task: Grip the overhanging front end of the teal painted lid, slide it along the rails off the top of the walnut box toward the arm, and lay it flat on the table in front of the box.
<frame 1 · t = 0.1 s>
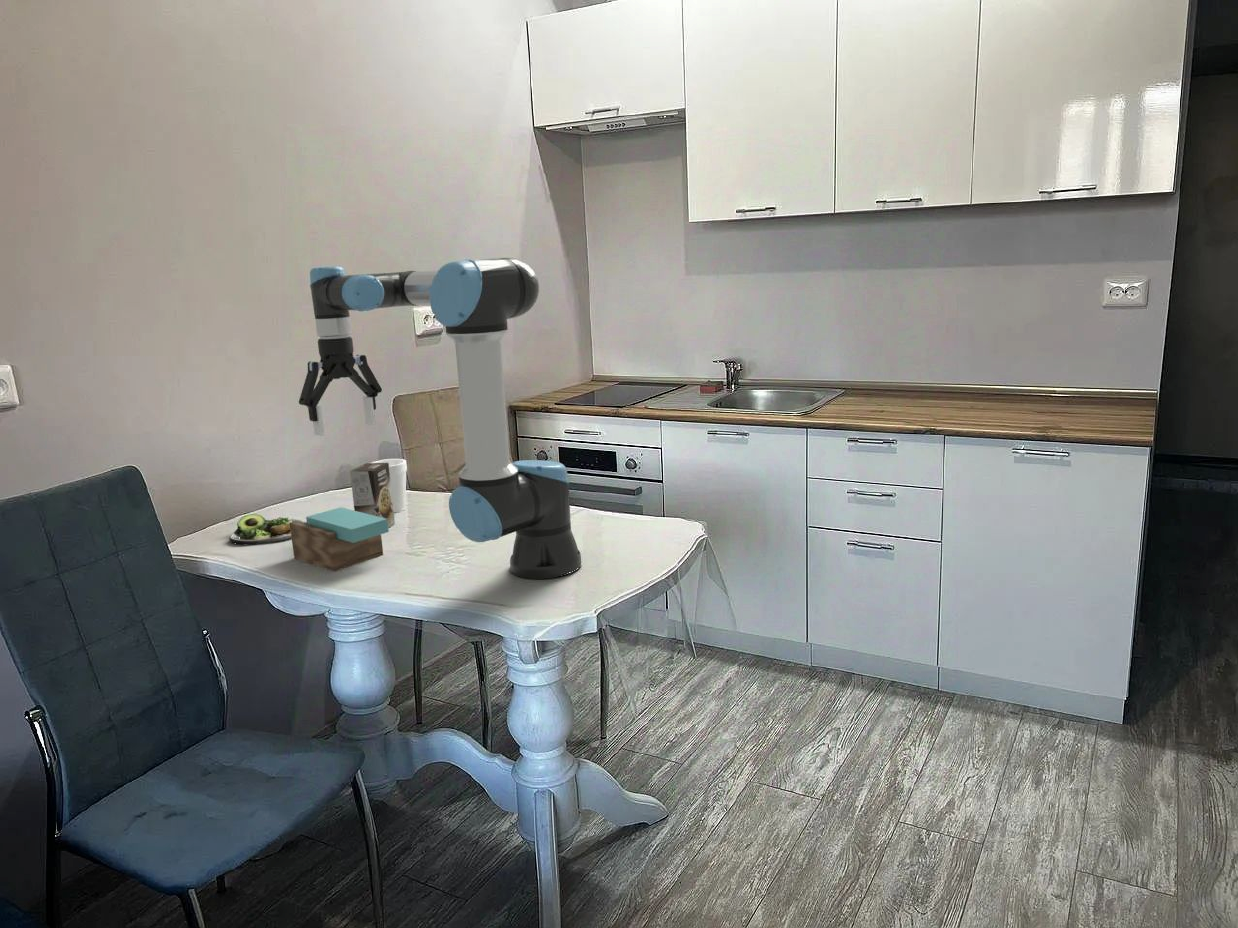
hand: (345, 429, 214), 28 cm above the table, tool pointing down, fingers open, 13 cm apart
salad plate: (266, 536, 233), on the table
foam cup: (393, 510, 250), on the table
lid: (347, 530, 208), point 7 cm above the table, touching walnut box
walnut box: (338, 556, 213), on the table
coffee box: (376, 529, 233), on the table
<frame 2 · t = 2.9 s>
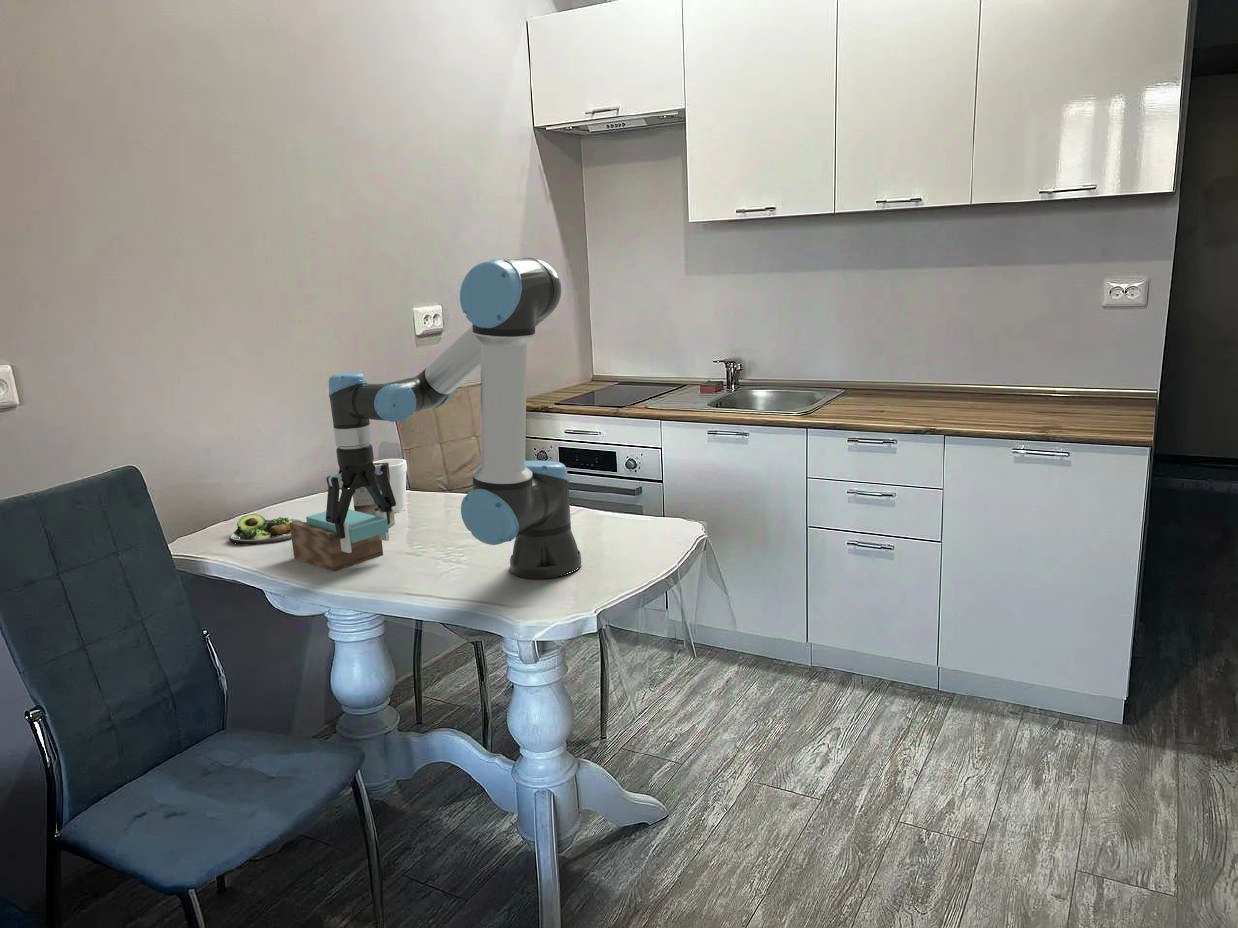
hand: (365, 545, 204), 5 cm above the table, tool pointing down, fingers closed on lid, 9 cm apart
lid: (347, 530, 208), point 7 cm above the table, touching gripper, walnut box
everything else where it was.
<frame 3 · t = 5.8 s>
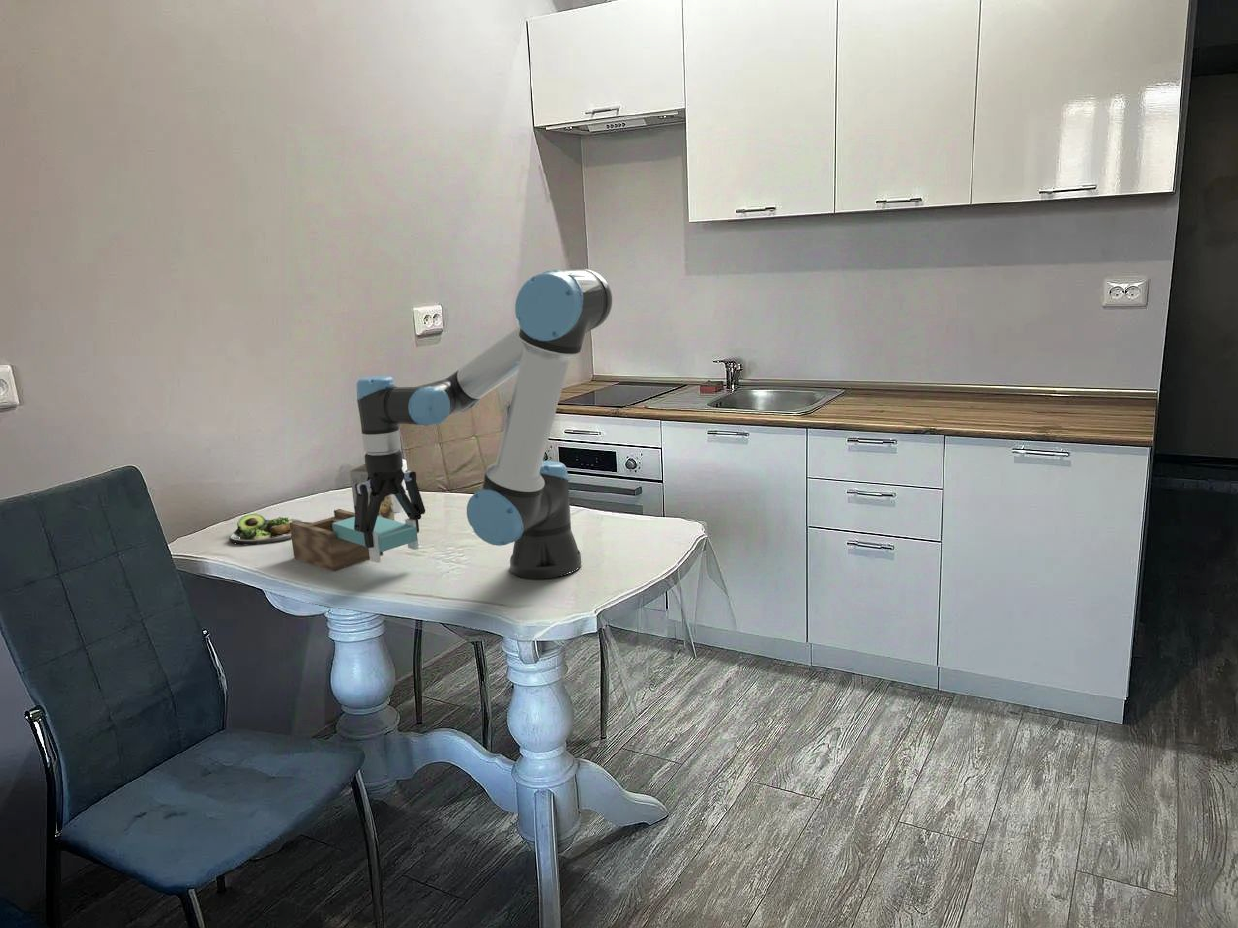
hand: (394, 554, 198), 4 cm above the table, tool pointing down, fingers closed on lid, 9 cm apart
lid: (375, 538, 201), point 7 cm above the table, touching gripper
everything else where it was.
when the fingers open (0 cm above the table, at t = 8.9 s): lid drops 4 cm, on the table.
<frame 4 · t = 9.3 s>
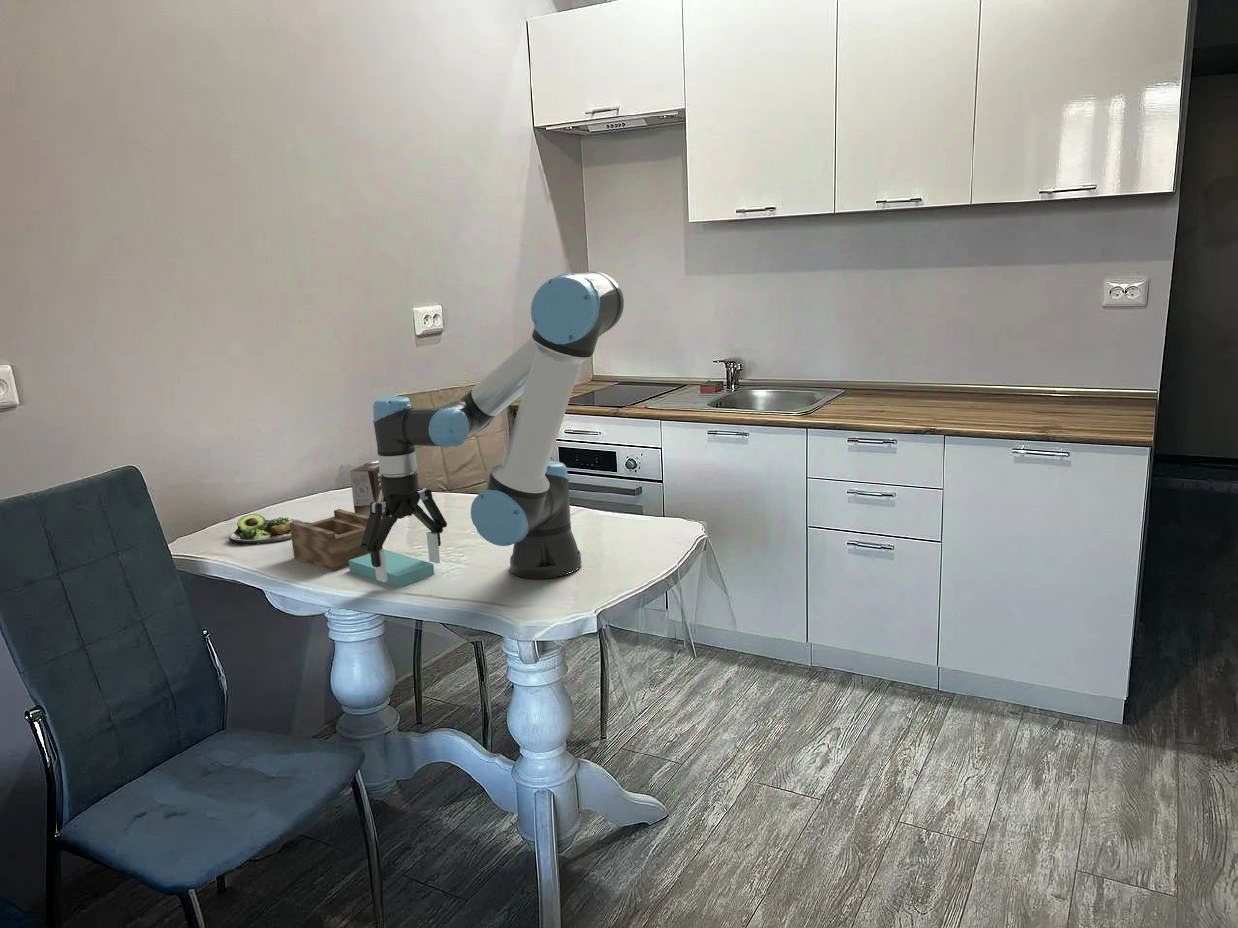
hand: (409, 571, 195), 2 cm above the table, tool pointing down, fingers open, 13 cm apart
lid: (391, 575, 200), on the table
everything else where it was.
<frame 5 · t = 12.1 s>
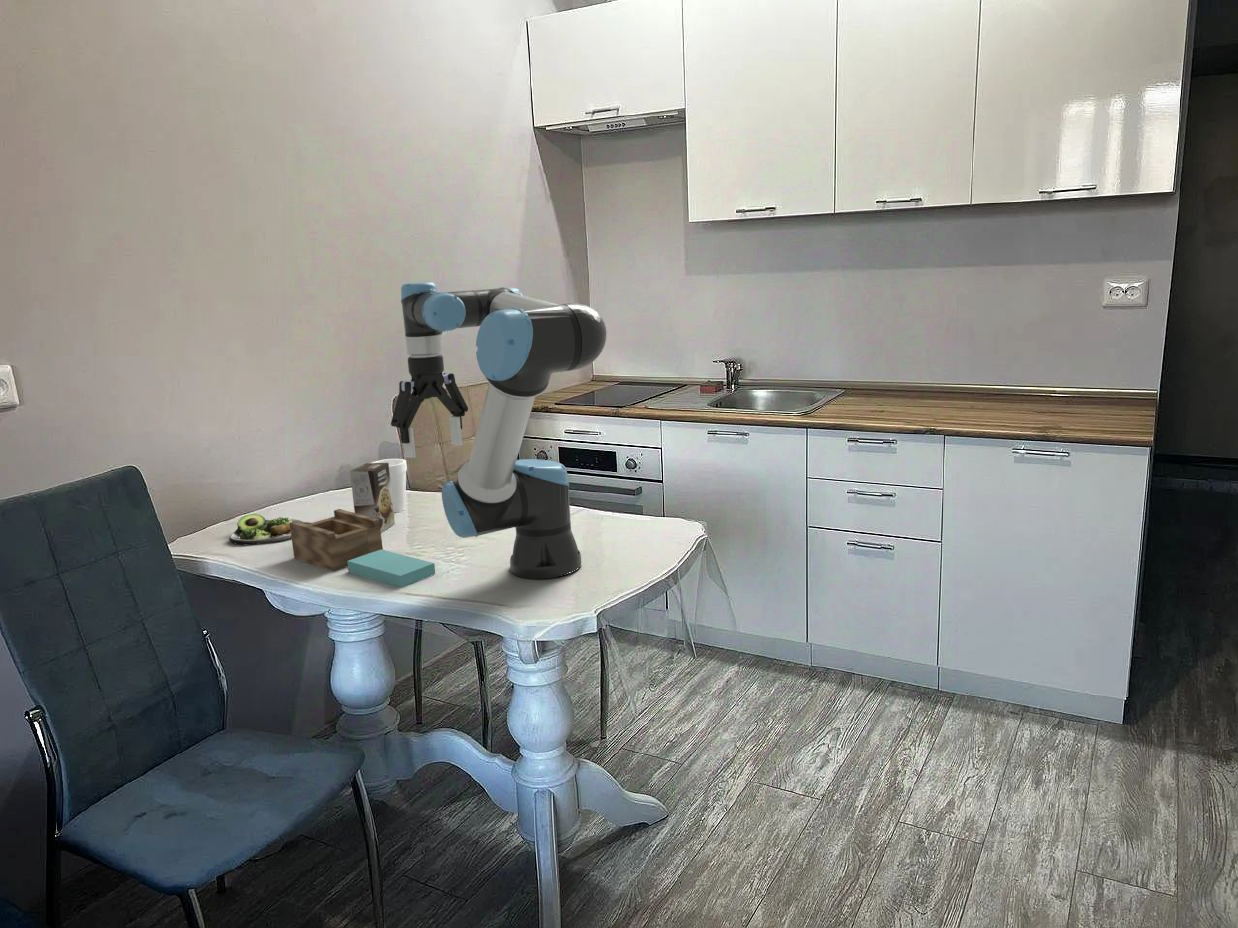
hand: (434, 451, 206), 24 cm above the table, tool pointing down, fingers open, 13 cm apart
nothing on the table moved.
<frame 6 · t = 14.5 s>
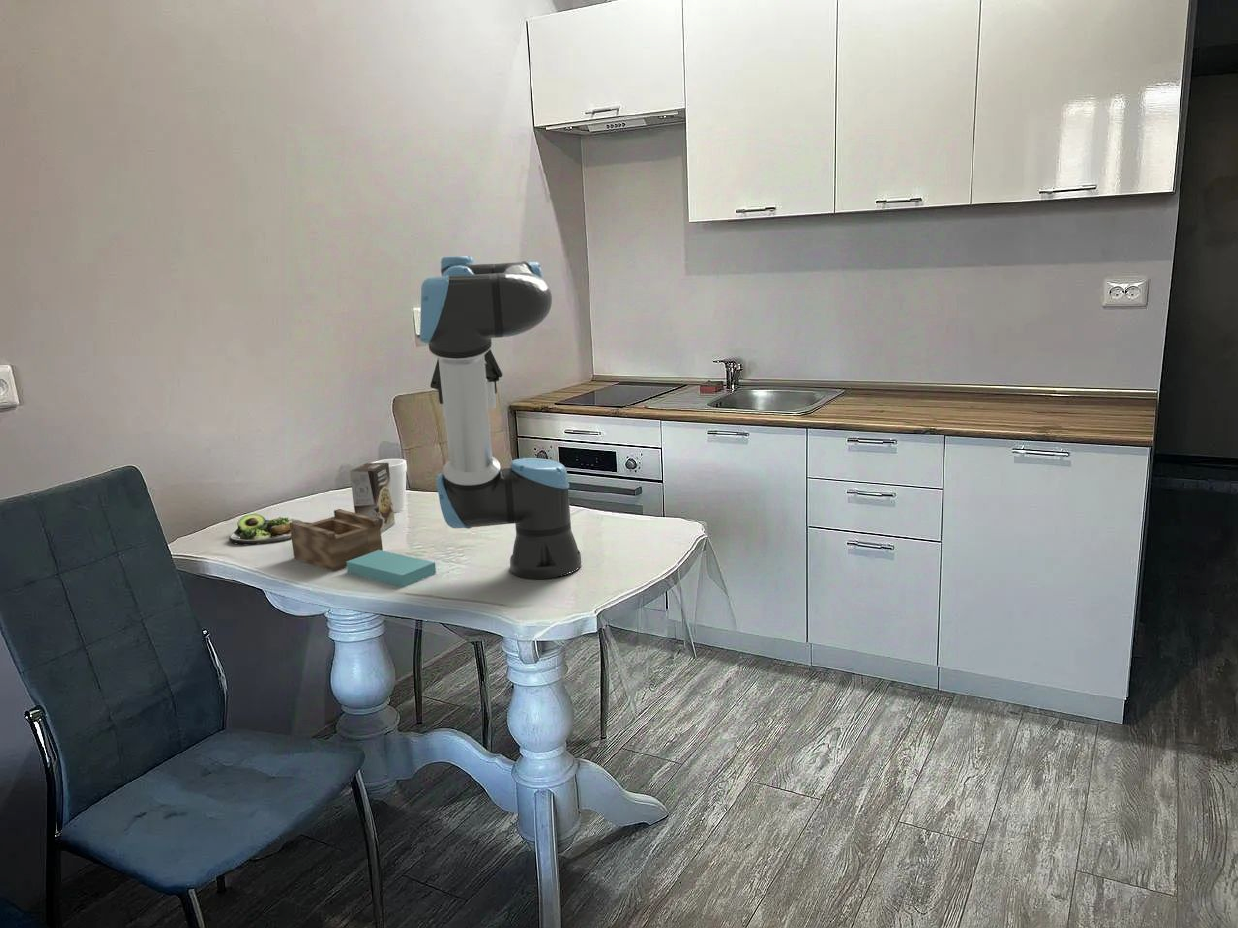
hand: (470, 412, 223), 29 cm above the table, tool pointing down, fingers open, 13 cm apart
nothing on the table moved.
at the end: lid inside the target area (0.5 cm from its centre), on the table; lid tilted 0°; the gripper is holding nothing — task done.
